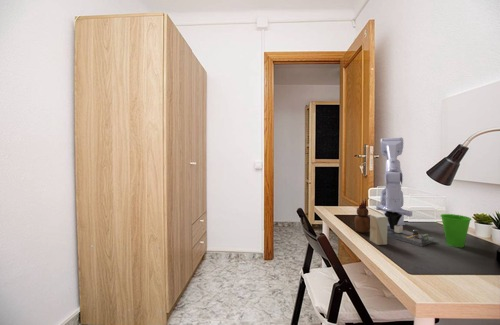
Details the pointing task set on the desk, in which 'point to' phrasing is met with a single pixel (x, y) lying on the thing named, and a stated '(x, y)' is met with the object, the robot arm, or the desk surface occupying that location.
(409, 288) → the desk surface
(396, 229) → the fader
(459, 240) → the cup
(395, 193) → the robot arm
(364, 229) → the wooden figurine
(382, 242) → the box
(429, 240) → the console
